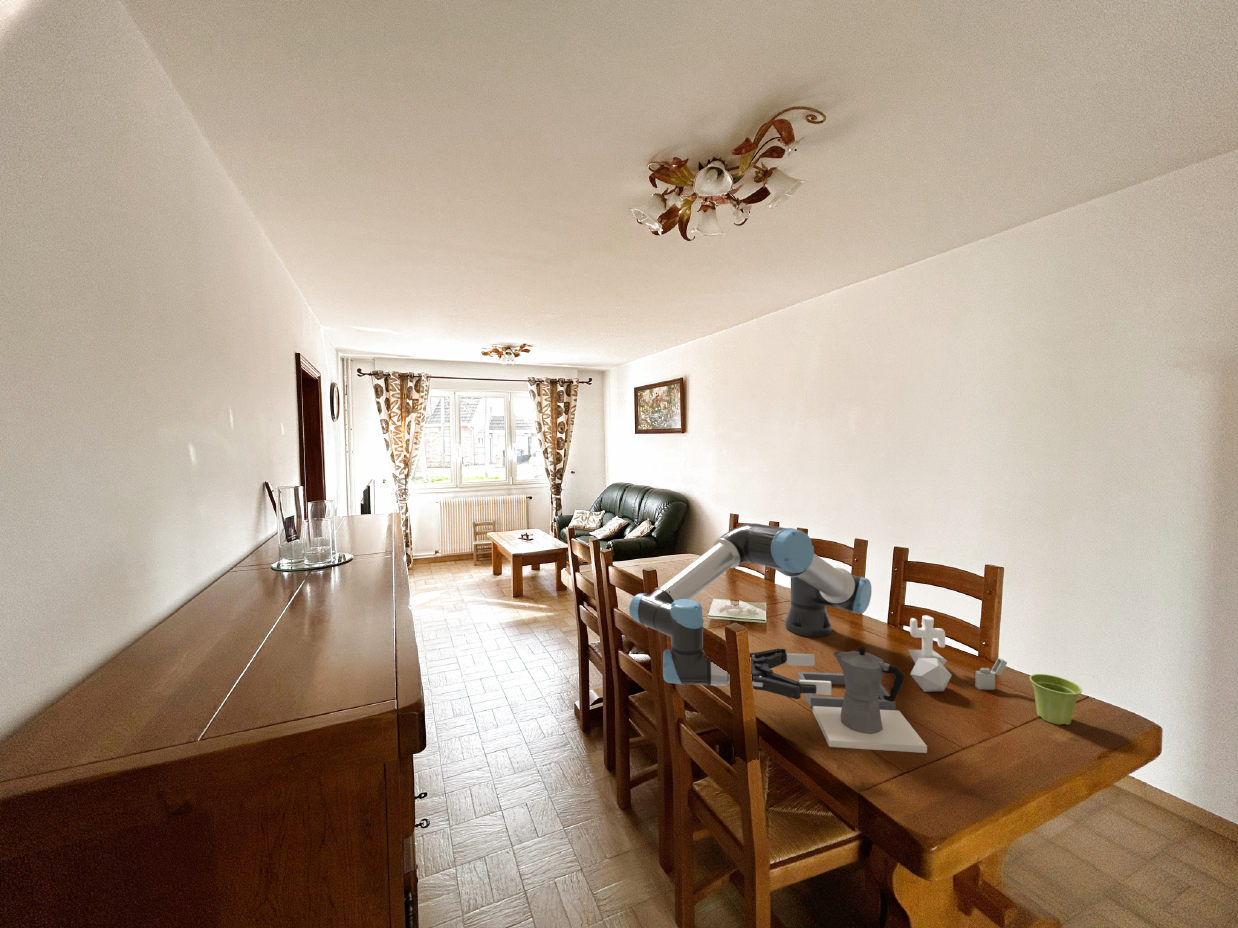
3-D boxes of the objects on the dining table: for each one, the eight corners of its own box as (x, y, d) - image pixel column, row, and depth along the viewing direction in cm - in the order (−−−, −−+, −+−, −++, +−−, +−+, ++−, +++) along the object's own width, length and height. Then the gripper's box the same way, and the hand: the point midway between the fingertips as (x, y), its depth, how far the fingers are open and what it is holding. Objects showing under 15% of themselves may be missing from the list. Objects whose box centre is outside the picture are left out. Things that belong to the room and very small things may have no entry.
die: (949, 702, 128) (962, 668, 130) (918, 684, 129) (930, 650, 132) (930, 698, 136) (942, 665, 138) (900, 680, 137) (913, 648, 139)
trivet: (812, 711, 123) (812, 705, 123) (898, 716, 121) (898, 710, 121) (829, 746, 109) (829, 740, 109) (926, 752, 107) (927, 746, 107)
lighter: (979, 689, 133) (979, 659, 133) (974, 686, 135) (975, 657, 134) (1006, 689, 133) (1007, 660, 132) (1002, 686, 134) (1002, 657, 134)
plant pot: (1081, 718, 119) (1082, 682, 119) (1079, 735, 112) (1080, 697, 112) (1030, 703, 126) (1032, 670, 125) (1026, 718, 119) (1027, 683, 119)
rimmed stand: (797, 680, 139) (798, 671, 139) (873, 683, 137) (873, 675, 136) (810, 707, 125) (810, 697, 125) (895, 711, 123) (895, 702, 123)
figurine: (950, 673, 142) (952, 621, 141) (916, 672, 143) (917, 621, 142) (936, 661, 149) (937, 612, 148) (904, 661, 150) (904, 612, 149)
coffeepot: (824, 719, 117) (824, 644, 116) (840, 704, 124) (841, 633, 123) (896, 748, 106) (897, 665, 105) (909, 729, 113) (911, 651, 112)
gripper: (724, 661, 131) (808, 664, 128) (734, 713, 106) (838, 719, 103) (724, 632, 130) (808, 635, 128) (734, 678, 106) (839, 683, 103)
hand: (822, 673), depth 115 cm, fingers open, 13 cm apart
